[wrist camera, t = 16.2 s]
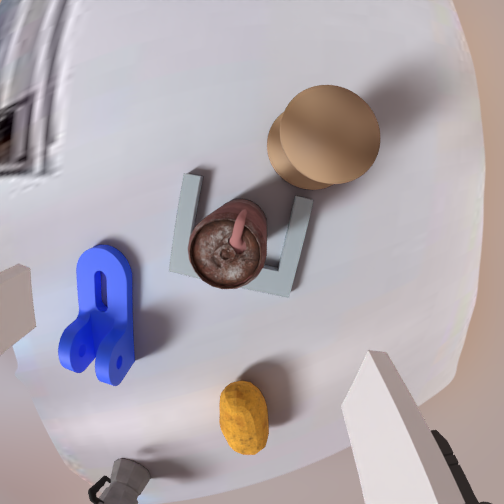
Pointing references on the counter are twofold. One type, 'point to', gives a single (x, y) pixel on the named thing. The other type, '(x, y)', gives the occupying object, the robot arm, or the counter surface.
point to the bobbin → (324, 138)
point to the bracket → (101, 317)
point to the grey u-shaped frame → (269, 277)
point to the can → (230, 245)
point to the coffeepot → (121, 484)
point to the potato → (244, 417)
